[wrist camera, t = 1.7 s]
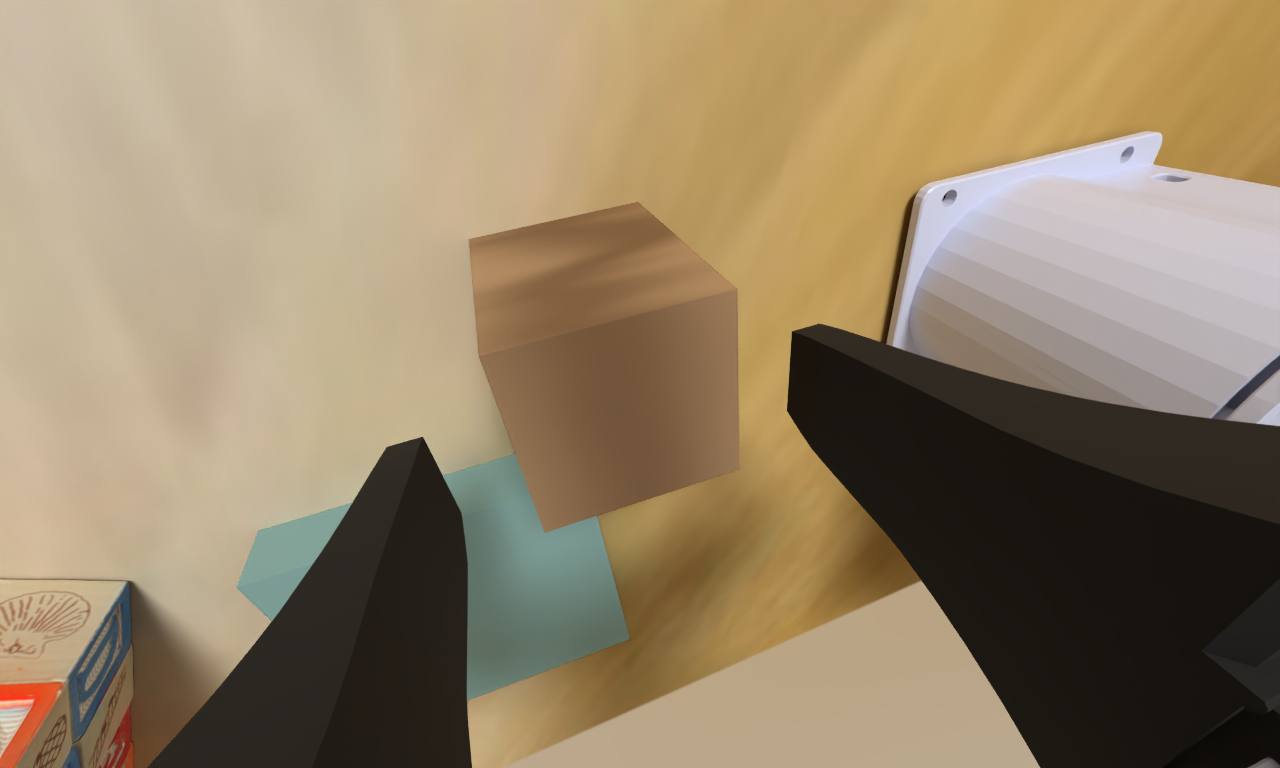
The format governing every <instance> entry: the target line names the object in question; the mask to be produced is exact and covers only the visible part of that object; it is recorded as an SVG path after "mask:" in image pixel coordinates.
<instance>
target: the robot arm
mask: <svg viewBox="0 0 1280 768" xmlns="http://www.w3.org/2000/svg"><path fill="white" fill-rule="evenodd" d="M1161 144H1162V135H1161V134H1160V133H1158V132H1151V131H1145V132H1141V133H1136V134H1132V135H1128V136H1124V137H1120V138H1115V139H1111V140H1107V141H1103V142H1099V143H1095V144H1090V145H1086V146H1082V147H1078V148H1074V149H1069V150H1065V151H1061V152H1057V153H1053V154H1048V155H1044V156H1040V157H1036V158H1032V159H1027V160H1023V161H1019V162H1015V163H1011V164H1006V165H1002V166H998V167H994V168H990V169H985V170H981V171H977V172H973V173H969V174H965V175H960V176H956V177H952V178H948V179H944V180H939V181H935V182H931V183H929V184H927V185H925V186H924V187H923V188H921V189H920V190H919V192H918V193H917V195H916V197H915V200H914V203H913V209H912V214H911V219H910V224H909V229H908V234H907V240H906V245H905V250H904V255H903V260H902V266H901V271H900V276H899V281H898V286H897V291H896V297H895V302H894V307H893V312H892V317H891V323H890V328H889V333H888V338H887V343H886V344H884V343H881V342H878V341H875V340H872V339H869V338H866V337H863V336H860V335H857V334H854V333H851V332H848V331H845V330H841V329H838V328H834V327H831V326H827V325H823V324H817V325H813V326H810V327H806V328H803V329H799V330H796V331H792V341H791V356H790V372H789V388H788V404H787V412H788V413H789V415H790V416H791V418H792V419H793V421H794V423H795V424H796V426H797V427H798V429H799V431H800V432H801V434H802V435H803V437H804V438H805V439H806V441H807V442H808V444H809V445H810V447H811V448H812V450H813V451H814V452H815V453H816V454H817V456H818V457H819V458H820V459H821V460H822V461H823V463H824V464H825V465H826V466H827V467H828V468H829V469H830V471H831V472H832V473H833V474H834V475H835V476H836V478H837V479H838V480H839V481H840V482H841V483H842V484H843V485H844V487H845V488H846V489H847V490H848V491H849V492H850V493H851V494H852V496H853V497H854V498H855V499H856V500H857V501H858V502H859V504H860V505H861V506H862V507H863V508H864V509H865V510H866V511H867V513H868V514H869V515H870V516H871V517H872V518H873V519H874V520H875V522H876V523H877V524H878V525H879V526H880V527H881V528H882V529H883V531H884V532H885V533H886V534H887V535H888V537H889V538H890V539H891V540H892V542H893V543H894V544H895V545H896V546H897V548H898V549H899V550H900V551H901V553H902V554H903V555H904V557H905V558H906V560H907V561H908V562H909V564H910V565H911V566H912V568H913V569H914V571H915V572H916V573H917V575H918V576H919V578H920V579H921V580H922V582H923V583H924V584H925V586H926V587H927V589H928V590H929V591H930V593H931V594H932V596H933V597H934V599H935V600H936V602H937V603H938V604H939V606H940V607H941V609H942V610H943V612H944V613H945V615H946V616H947V618H948V619H949V621H950V622H951V624H952V625H953V627H954V628H955V630H956V631H957V632H958V634H959V635H960V637H961V638H962V640H963V641H964V643H965V644H966V646H967V647H968V649H969V651H970V652H971V654H972V655H973V657H974V659H975V660H976V662H977V663H978V665H979V666H980V668H981V670H982V671H983V673H984V674H985V676H986V677H987V679H988V681H989V682H990V684H991V685H992V687H993V689H994V690H995V691H996V693H997V695H998V696H999V698H1000V700H1001V701H1002V703H1003V705H1004V706H1005V708H1006V710H1007V711H1008V713H1009V715H1010V717H1011V718H1012V720H1013V721H1014V723H1015V725H1016V727H1017V728H1018V730H1019V732H1020V734H1021V735H1022V737H1023V739H1024V740H1025V742H1026V744H1027V745H1028V747H1029V749H1030V750H1031V752H1032V754H1033V755H1034V757H1035V759H1036V761H1037V763H1038V764H1039V766H1040V768H1280V187H1275V186H1270V185H1264V184H1258V183H1253V182H1247V181H1242V180H1236V179H1230V178H1225V177H1219V176H1214V175H1208V174H1202V173H1197V172H1191V171H1186V170H1180V169H1174V168H1169V167H1163V166H1158V165H1153V162H1154V160H1155V158H1156V156H1157V154H1158V151H1159V149H1160V147H1161ZM946 193H947V194H946ZM945 194H946V197H945V199H944V200H943V201H942V199H943V197H944V195H945ZM467 630H468V560H467V551H466V542H465V534H464V527H463V519H462V513H461V511H460V509H459V507H458V505H457V503H456V501H455V499H454V497H453V495H452V493H451V491H450V489H449V487H448V485H447V483H446V481H445V479H444V477H443V475H442V473H441V472H440V470H439V468H438V466H437V464H436V462H435V460H434V458H433V456H432V454H431V452H430V450H429V448H428V446H427V444H426V442H425V440H424V438H423V437H420V438H417V439H413V440H410V441H406V442H403V443H399V444H396V445H392V446H389V447H387V448H386V449H385V451H384V452H383V454H382V456H381V457H380V459H379V460H378V462H377V464H376V465H375V467H374V468H373V470H372V472H371V473H370V475H369V477H368V478H367V480H366V482H365V483H364V485H363V486H362V488H361V490H360V491H359V493H358V495H357V496H356V498H355V500H354V501H353V503H352V504H351V506H350V508H349V509H348V511H347V513H346V514H345V516H344V517H343V519H342V520H341V522H340V524H339V525H338V527H337V528H336V530H335V531H334V533H333V534H332V536H331V538H330V539H329V541H328V542H327V544H326V545H325V547H324V549H323V550H322V552H321V553H320V554H319V556H318V557H317V559H316V560H315V562H314V563H313V564H312V566H311V567H310V569H309V570H308V572H307V573H306V574H305V576H304V577H303V579H302V580H301V582H300V583H299V584H298V586H297V587H296V589H295V590H294V592H293V593H292V594H291V596H290V597H289V599H288V600H287V602H286V603H285V604H284V606H283V607H282V609H281V610H280V611H279V613H278V614H277V615H276V617H275V618H274V619H273V621H272V622H271V623H270V625H269V626H268V627H267V629H266V630H265V631H264V632H263V634H262V635H261V636H260V638H259V639H258V640H257V641H256V643H255V644H254V645H253V646H252V648H251V649H250V650H249V651H248V653H247V654H246V655H245V656H244V658H243V659H242V660H241V661H240V662H239V664H238V665H237V666H236V667H235V669H234V670H233V671H232V672H231V673H230V675H229V676H228V677H227V678H226V679H225V681H224V682H223V683H222V684H221V686H220V687H219V688H218V689H217V690H216V692H215V693H214V694H213V695H212V696H211V697H210V699H209V700H208V701H207V702H206V703H205V704H204V706H203V707H202V708H201V709H200V710H199V711H198V712H197V713H196V714H195V716H194V717H193V718H192V719H191V720H190V721H189V722H188V723H187V724H186V725H185V727H184V728H183V729H182V730H181V731H180V732H179V733H178V734H177V735H176V737H175V738H174V739H173V740H172V741H171V742H170V743H169V744H168V745H167V747H166V748H165V749H164V750H163V751H162V752H161V753H160V754H159V755H158V756H157V758H156V759H155V760H154V761H153V762H152V763H151V764H150V765H149V766H148V768H472V763H471V751H470V740H469V729H468V713H467Z"/></svg>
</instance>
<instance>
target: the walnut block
mask: <svg viewBox="0 0 1280 768" xmlns="http://www.w3.org/2000/svg"><path fill="white" fill-rule="evenodd" d="M469 247H470V258H471V270H472V282H473V293H474V305H475V317H476V328H477V340H478V352H479V358H480V360H481V363H482V366H483V368H484V371H485V374H486V377H487V379H488V382H489V385H490V387H491V390H492V393H493V395H494V398H495V401H496V403H497V406H498V409H499V411H500V414H501V417H502V420H503V422H504V425H505V428H506V430H507V433H508V436H509V438H510V441H511V444H512V446H513V449H514V452H515V454H516V457H517V460H518V462H519V465H520V468H521V471H522V473H523V476H524V479H525V481H526V484H527V487H528V489H529V492H530V495H531V497H532V500H533V503H534V505H535V508H536V511H537V513H538V516H539V519H540V522H541V524H542V527H543V530H544V532H545V533H546V532H549V531H552V530H555V529H558V528H561V527H564V526H567V525H570V524H573V523H576V522H579V521H582V520H586V519H589V518H592V517H595V516H598V515H601V514H604V513H607V512H610V511H613V510H616V509H619V508H622V507H625V506H629V505H632V504H635V503H638V502H641V501H644V500H647V499H650V498H653V497H656V496H659V495H662V494H665V493H668V492H672V491H675V490H678V489H681V488H684V487H687V486H690V485H693V484H696V483H699V482H702V481H705V480H708V479H711V478H715V477H718V476H721V475H724V474H727V473H730V472H733V471H736V470H739V403H738V312H737V288H736V287H735V286H733V285H732V284H731V283H730V282H729V281H728V280H727V279H725V278H724V277H723V276H722V275H721V274H720V273H719V272H717V271H716V270H715V269H714V268H713V267H712V266H711V265H709V264H708V263H707V262H706V261H705V260H704V259H703V258H701V257H700V256H699V255H698V254H697V253H696V252H695V251H693V250H692V249H691V248H690V247H689V246H688V245H687V244H685V243H684V242H683V241H682V240H681V239H680V238H679V237H677V236H676V235H675V234H674V233H673V232H672V231H671V230H669V229H668V228H667V227H666V226H665V225H664V224H663V223H661V222H660V221H659V220H658V219H657V218H656V217H655V216H653V215H652V214H651V213H650V212H649V211H648V210H647V209H645V208H644V207H643V206H642V205H641V204H640V203H639V202H636V203H631V204H627V205H622V206H618V207H613V208H609V209H604V210H600V211H595V212H590V213H586V214H581V215H577V216H572V217H568V218H563V219H559V220H554V221H550V222H545V223H541V224H536V225H532V226H527V227H523V228H518V229H513V230H509V231H504V232H500V233H495V234H491V235H486V236H482V237H477V238H473V239H469Z"/></svg>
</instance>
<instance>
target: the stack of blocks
mask: <svg viewBox="0 0 1280 768" xmlns="http://www.w3.org/2000/svg"><path fill="white" fill-rule="evenodd" d="M130 639H131V613H130V588H129V583H128V582H126V581H85V580H20V579H0V768H134V767H133V763H134V758H133V743H132V742H131V741H130V738H131V717H130V702H131V700H132V697H133V694H134V690H133V650H132V645H131V643H130Z"/></svg>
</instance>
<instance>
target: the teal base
mask: <svg viewBox="0 0 1280 768" xmlns="http://www.w3.org/2000/svg"><path fill="white" fill-rule="evenodd" d="M443 477H444V479H445V481H446V483H447V485H448V487H449V489H450V491H451V493H452V495H453V497H454V499H455V501H456V503H457V505H458V507H459V509H460V511H461V513H462V519H463V527H464V534H465V542H466V551H467V560H468V630H467V701H468V700H470V699H473V698H476V697H478V696H481V695H484V694H486V693H489V692H491V691H494V690H497V689H499V688H502V687H505V686H507V685H510V684H513V683H515V682H518V681H521V680H523V679H526V678H529V677H531V676H534V675H537V674H539V673H542V672H544V671H547V670H550V669H552V668H555V667H558V666H560V665H563V664H566V663H568V662H571V661H574V660H576V659H579V658H582V657H584V656H587V655H590V654H592V653H595V652H597V651H600V650H603V649H605V648H608V647H611V646H613V645H616V644H619V643H621V642H624V641H627V640H629V639H630V636H629V632H628V629H627V625H626V621H625V618H624V614H623V610H622V607H621V603H620V599H619V596H618V592H617V588H616V585H615V581H614V577H613V574H612V570H611V566H610V563H609V559H608V555H607V552H606V548H605V544H604V541H603V537H602V533H601V529H600V526H599V522H598V518H597V516H595V517H592V518H589V519H586V520H582V521H579V522H576V523H573V524H570V525H567V526H564V527H561V528H558V529H555V530H552V531H549V532H546V533H545V532H544V530H543V527H542V524H541V522H540V519H539V516H538V513H537V511H536V508H535V505H534V503H533V500H532V497H531V495H530V492H529V489H528V487H527V484H526V481H525V479H524V476H523V473H522V471H521V468H520V465H519V462H518V460H517V457H516V454H514V455H511V456H507V457H504V458H501V459H497V460H494V461H491V462H487V463H484V464H481V465H477V466H474V467H471V468H467V469H464V470H460V471H457V472H454V473H450V474H447V475H444V476H443ZM351 504H352V503H350V504H347V505H343V506H340V507H337V508H333V509H330V510H327V511H323V512H320V513H316V514H313V515H310V516H306V517H303V518H300V519H296V520H293V521H290V522H286V523H283V524H280V525H276V526H273V527H270V528H266V529H263V530H260V531H258V533H257V536H256V539H255V541H254V544H253V546H252V549H251V552H250V554H249V557H248V559H247V562H246V564H245V567H244V570H243V572H242V575H241V577H240V580H239V583H238V585H237V589H238V590H239V591H241V592H242V593H243V594H244V595H245V596H246V597H247V598H248V599H249V600H250V601H251V602H252V603H253V604H254V605H255V606H256V607H258V608H259V609H260V610H261V611H262V612H263V613H264V614H265V615H266V616H267V617H268V618H269V619H270V620H271V621H273V619H274V618H275V617H276V615H277V614H278V613H279V611H280V610H281V609H282V607H283V606H284V604H285V603H286V602H287V600H288V599H289V597H290V596H291V594H292V593H293V592H294V590H295V589H296V587H297V586H298V584H299V583H300V582H301V580H302V579H303V577H304V576H305V574H306V573H307V572H308V570H309V569H310V567H311V566H312V564H313V563H314V562H315V560H316V559H317V557H318V556H319V554H320V553H321V552H322V550H323V549H324V547H325V545H326V544H327V542H328V541H329V539H330V538H331V536H332V534H333V533H334V531H335V530H336V528H337V527H338V525H339V524H340V522H341V520H342V519H343V517H344V516H345V514H346V513H347V511H348V509H349V508H350V506H351Z"/></svg>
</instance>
